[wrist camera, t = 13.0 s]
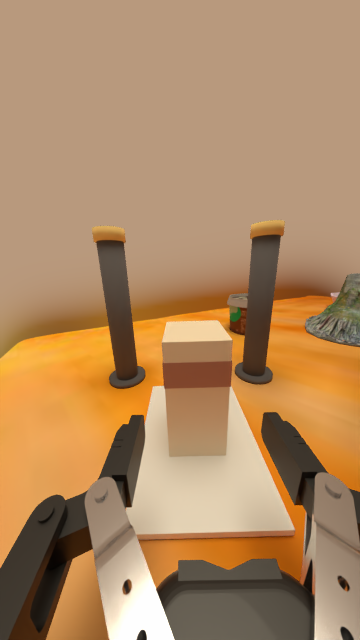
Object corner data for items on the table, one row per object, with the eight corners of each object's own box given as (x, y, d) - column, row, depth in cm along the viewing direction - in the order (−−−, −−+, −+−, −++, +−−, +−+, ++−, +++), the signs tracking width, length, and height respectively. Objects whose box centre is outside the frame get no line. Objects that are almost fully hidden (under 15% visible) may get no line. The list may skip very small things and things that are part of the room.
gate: (262, 364, 34) (277, 228, 27) (279, 383, 28) (303, 217, 22) (116, 368, 34) (96, 234, 27) (104, 389, 28) (74, 225, 22)
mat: (230, 387, 28) (230, 383, 27) (293, 535, 12) (295, 530, 12) (153, 389, 28) (153, 386, 28) (121, 540, 12) (120, 534, 12)
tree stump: (288, 332, 51) (302, 269, 49) (317, 334, 61) (330, 282, 59) (382, 354, 35) (408, 262, 33) (400, 351, 46) (420, 282, 44)
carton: (215, 410, 22) (218, 320, 19) (226, 455, 17) (233, 340, 14) (171, 412, 22) (166, 321, 19) (168, 457, 17) (161, 342, 14)
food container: (227, 322, 60) (229, 293, 57) (247, 323, 58) (249, 293, 55) (224, 335, 49) (225, 299, 46) (247, 337, 47) (250, 300, 44)
